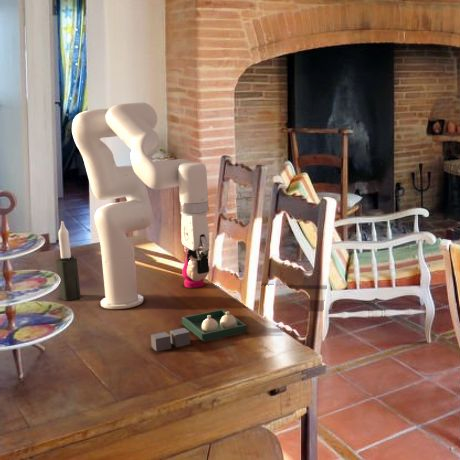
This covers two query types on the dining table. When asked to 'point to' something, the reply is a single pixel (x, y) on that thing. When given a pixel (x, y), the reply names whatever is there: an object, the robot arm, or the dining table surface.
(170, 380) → the dining table surface
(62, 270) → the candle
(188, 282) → the pepper mill
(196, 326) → the green tray
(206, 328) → the white bulb
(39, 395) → the dining table surface
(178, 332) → the grey block
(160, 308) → the dining table surface
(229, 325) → the white bulb
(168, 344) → the grey block
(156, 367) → the dining table surface
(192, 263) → the garlic bulb
